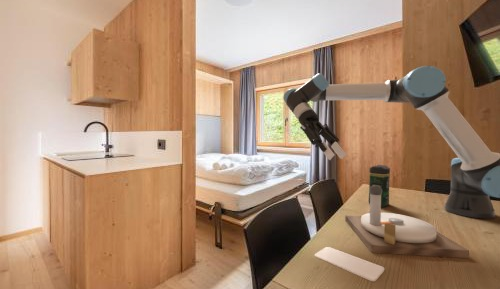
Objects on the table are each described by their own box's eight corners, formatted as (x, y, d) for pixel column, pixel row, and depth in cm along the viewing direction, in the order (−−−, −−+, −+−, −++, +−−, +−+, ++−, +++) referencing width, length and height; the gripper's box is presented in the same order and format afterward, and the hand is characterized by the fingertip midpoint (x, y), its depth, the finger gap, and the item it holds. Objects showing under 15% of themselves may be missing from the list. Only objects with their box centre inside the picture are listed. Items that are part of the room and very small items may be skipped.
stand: (413, 223, 83) (414, 204, 83) (468, 258, 59) (469, 231, 59) (345, 220, 86) (345, 202, 86) (371, 252, 62) (371, 227, 62)
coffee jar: (385, 208, 101) (386, 166, 100) (366, 204, 106) (367, 165, 106) (391, 204, 108) (392, 165, 107) (373, 200, 113) (373, 163, 113)
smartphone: (327, 246, 65) (385, 267, 54) (327, 248, 65) (385, 270, 54) (313, 255, 60) (374, 280, 49) (313, 257, 60) (374, 284, 49)
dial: (397, 216, 84) (398, 177, 84) (455, 240, 64) (456, 190, 64) (348, 219, 80) (349, 179, 80) (393, 246, 61) (394, 193, 60)
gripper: (317, 123, 103) (347, 162, 90) (284, 121, 94) (313, 165, 80) (326, 110, 99) (360, 149, 85) (293, 107, 89) (325, 150, 76)
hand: (337, 156), depth 83 cm, fingers open, 6 cm apart
